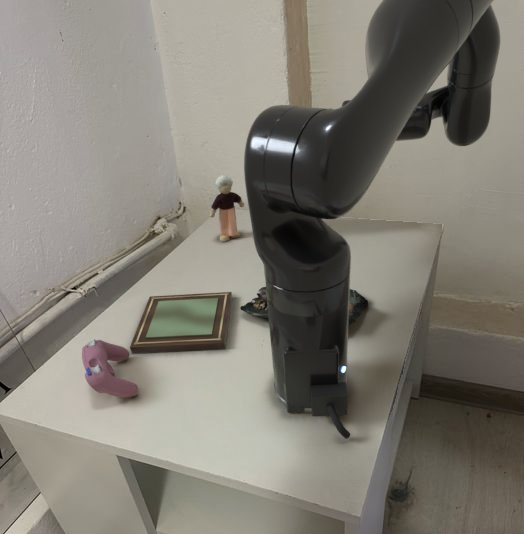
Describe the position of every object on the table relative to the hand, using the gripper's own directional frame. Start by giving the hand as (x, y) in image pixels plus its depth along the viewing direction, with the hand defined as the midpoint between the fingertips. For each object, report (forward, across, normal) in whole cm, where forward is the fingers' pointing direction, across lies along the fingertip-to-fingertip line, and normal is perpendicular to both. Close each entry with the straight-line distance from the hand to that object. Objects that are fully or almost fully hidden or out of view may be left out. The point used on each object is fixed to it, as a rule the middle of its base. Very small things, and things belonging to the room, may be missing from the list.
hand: (278, 129), depth 87 cm
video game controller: (+24, +44, +20) cm, 54 cm away
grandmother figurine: (+11, 0, +20) cm, 23 cm away
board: (+16, +31, +20) cm, 40 cm away
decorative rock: (-3, +29, +20) cm, 35 cm away
